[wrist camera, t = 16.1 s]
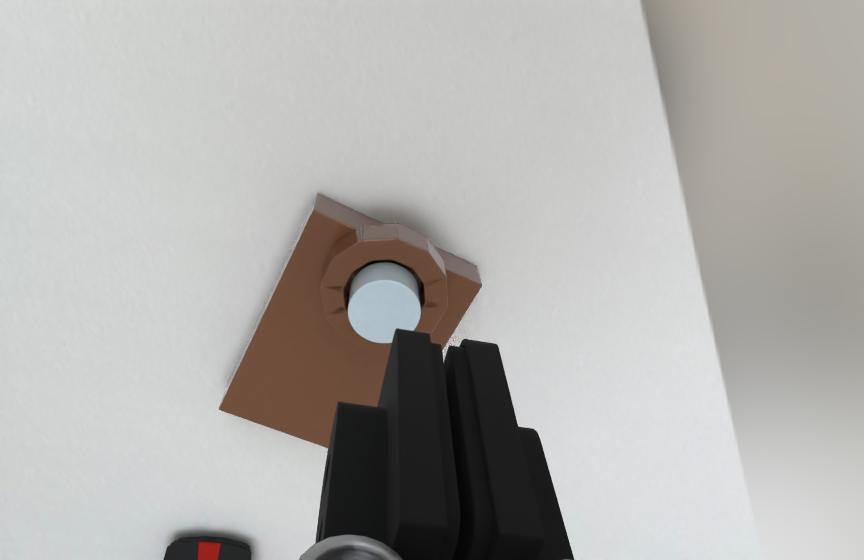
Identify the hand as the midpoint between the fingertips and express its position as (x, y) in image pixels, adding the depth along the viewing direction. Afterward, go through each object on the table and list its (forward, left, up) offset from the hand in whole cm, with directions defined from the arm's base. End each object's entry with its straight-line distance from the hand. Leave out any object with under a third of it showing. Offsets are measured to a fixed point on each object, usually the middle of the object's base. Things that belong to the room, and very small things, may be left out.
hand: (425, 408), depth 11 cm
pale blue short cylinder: (+4, +9, -22) cm, 24 cm away
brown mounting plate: (+7, +12, -26) cm, 30 cm away
